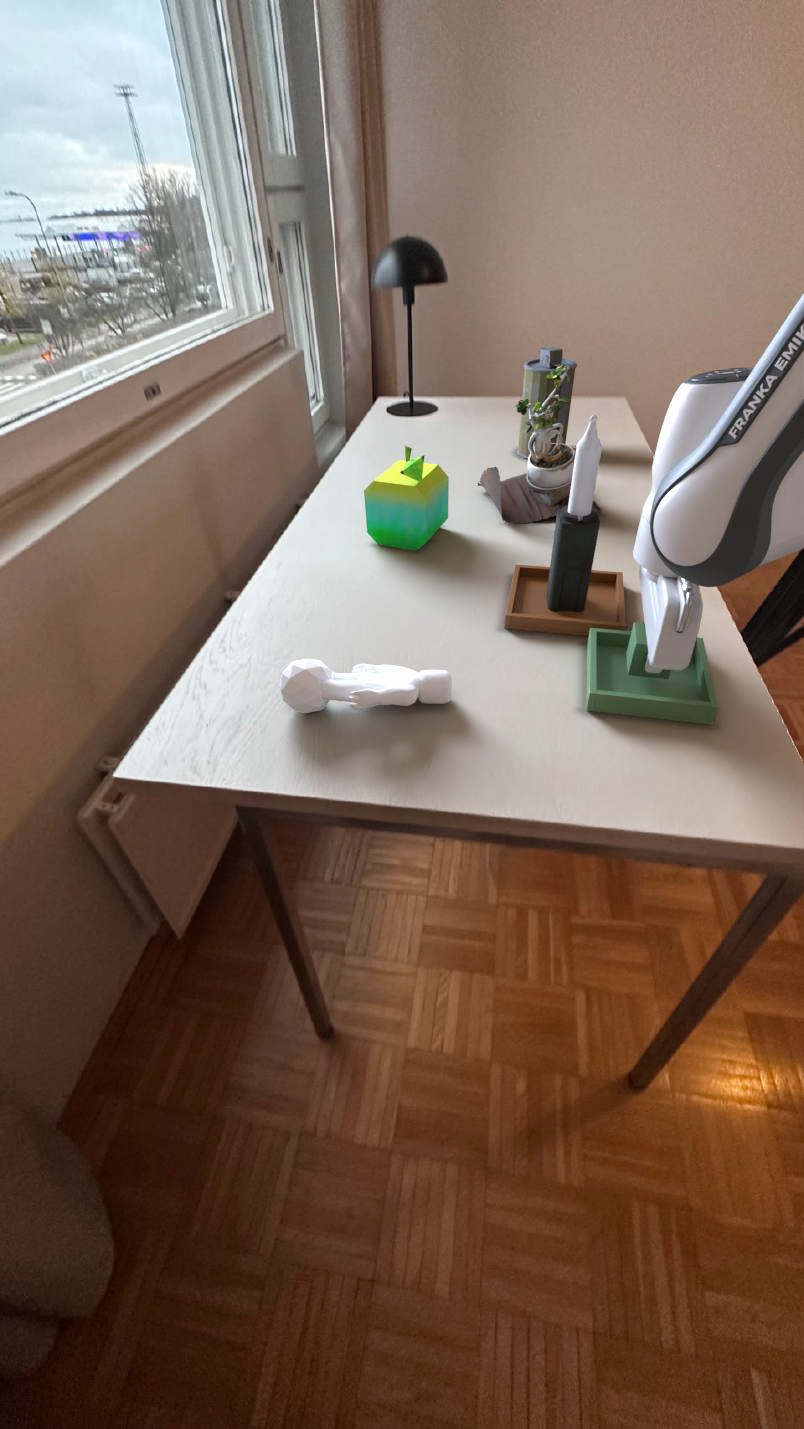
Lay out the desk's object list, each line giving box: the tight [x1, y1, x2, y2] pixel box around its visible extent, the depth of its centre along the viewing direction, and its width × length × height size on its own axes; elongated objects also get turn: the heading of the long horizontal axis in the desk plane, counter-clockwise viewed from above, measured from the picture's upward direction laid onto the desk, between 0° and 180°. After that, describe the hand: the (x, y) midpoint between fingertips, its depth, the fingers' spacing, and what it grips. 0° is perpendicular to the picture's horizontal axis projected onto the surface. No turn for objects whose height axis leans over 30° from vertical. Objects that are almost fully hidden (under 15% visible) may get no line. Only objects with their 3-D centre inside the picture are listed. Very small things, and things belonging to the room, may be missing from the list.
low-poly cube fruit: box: [363, 445, 450, 552], centre depth 104 cm, size 11×10×15 cm
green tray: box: [585, 628, 719, 726], centre depth 76 cm, size 14×14×3 cm
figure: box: [278, 658, 453, 714], centre depth 73 cm, size 11×7×20 cm
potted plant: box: [477, 364, 602, 525], centre depth 111 cm, size 20×19×25 cm
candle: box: [546, 414, 603, 612], centre depth 81 cm, size 5×5×25 cm
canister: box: [516, 345, 578, 460], centre depth 131 cm, size 11×10×20 cm
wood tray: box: [503, 564, 627, 637], centre depth 89 cm, size 16×15×2 cm
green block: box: [626, 621, 671, 679], centre depth 73 cm, size 4×4×4 cm
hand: (650, 654), depth 74 cm, fingers closed on green block, 4 cm apart
